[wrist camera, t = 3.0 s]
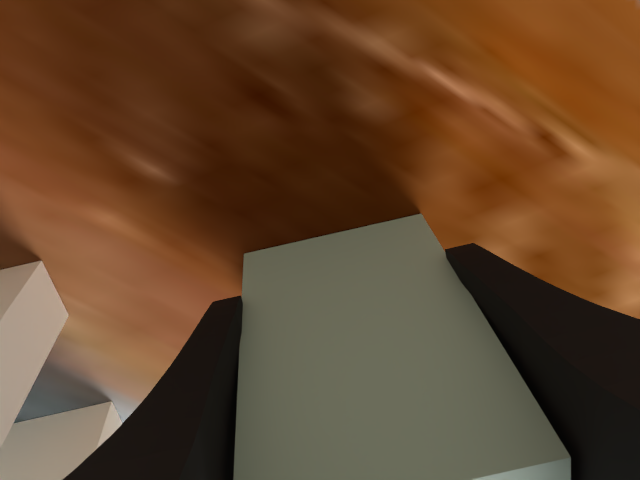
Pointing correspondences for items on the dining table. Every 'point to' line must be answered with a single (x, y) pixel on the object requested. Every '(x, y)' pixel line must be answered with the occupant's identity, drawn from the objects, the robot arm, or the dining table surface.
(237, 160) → the dining table surface
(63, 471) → the domino
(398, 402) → the domino
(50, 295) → the domino
